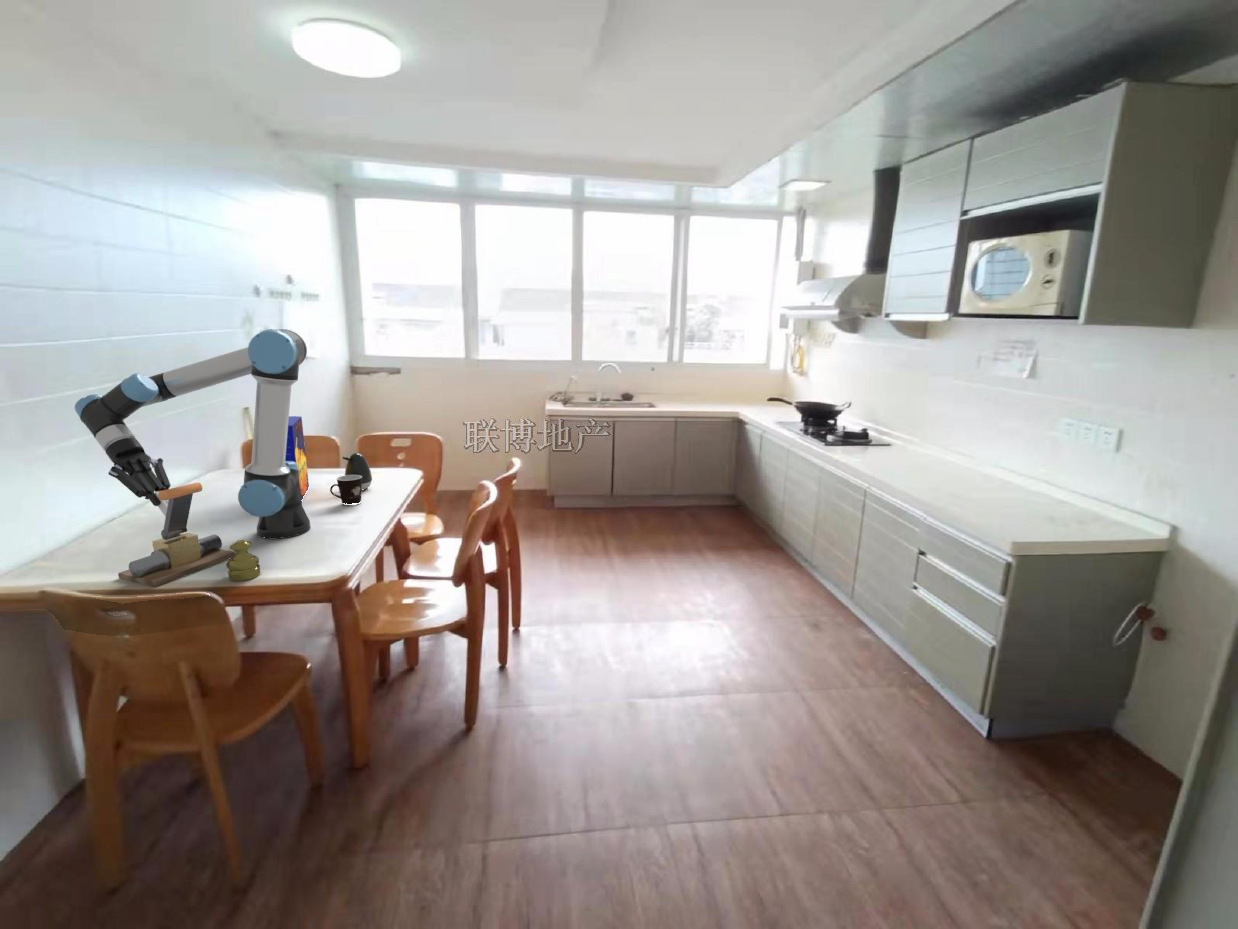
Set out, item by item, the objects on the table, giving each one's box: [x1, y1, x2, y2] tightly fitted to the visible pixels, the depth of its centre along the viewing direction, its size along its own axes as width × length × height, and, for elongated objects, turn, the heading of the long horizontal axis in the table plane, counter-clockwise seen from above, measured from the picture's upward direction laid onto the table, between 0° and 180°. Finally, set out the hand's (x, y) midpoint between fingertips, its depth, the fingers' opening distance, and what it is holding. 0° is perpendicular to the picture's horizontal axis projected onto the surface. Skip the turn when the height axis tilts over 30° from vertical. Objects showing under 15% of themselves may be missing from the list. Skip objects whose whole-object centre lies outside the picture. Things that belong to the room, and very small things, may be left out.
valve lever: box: [158, 481, 203, 540], centre depth 160 cm, size 3×10×16 cm, turn 161°
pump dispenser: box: [342, 452, 373, 490], centre depth 242 cm, size 10×10×15 cm
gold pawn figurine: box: [226, 539, 261, 582], centre depth 159 cm, size 7×7×10 cm
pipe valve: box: [117, 532, 236, 588], centre depth 164 cm, size 14×22×8 cm, turn 160°
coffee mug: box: [329, 474, 362, 504], centre depth 223 cm, size 12×9×10 cm
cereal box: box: [285, 415, 310, 500], centre depth 228 cm, size 22×6×30 cm, turn 19°
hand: (170, 512), depth 161 cm, fingers closed
